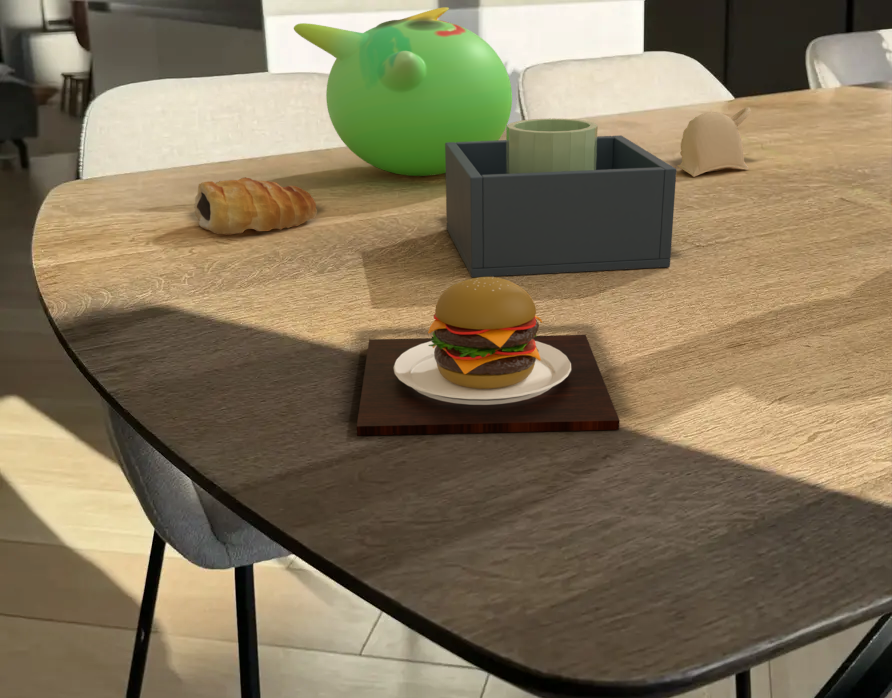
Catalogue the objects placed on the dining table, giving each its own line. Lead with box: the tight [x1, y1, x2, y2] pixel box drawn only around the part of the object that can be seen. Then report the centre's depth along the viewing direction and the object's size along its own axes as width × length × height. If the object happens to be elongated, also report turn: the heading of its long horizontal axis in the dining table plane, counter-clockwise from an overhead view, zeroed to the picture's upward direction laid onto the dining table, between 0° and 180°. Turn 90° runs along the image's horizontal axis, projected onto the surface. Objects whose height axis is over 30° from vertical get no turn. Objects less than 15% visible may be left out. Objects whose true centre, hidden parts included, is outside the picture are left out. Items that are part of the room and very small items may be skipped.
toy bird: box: [293, 6, 513, 177], centre depth 103 cm, size 18×17×15 cm
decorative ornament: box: [677, 107, 752, 178], centre depth 105 cm, size 4×8×5 cm, turn 116°
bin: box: [445, 135, 677, 278], centre depth 80 cm, size 14×14×7 cm
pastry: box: [194, 177, 318, 236], centre depth 88 cm, size 9×7×4 cm
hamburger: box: [356, 276, 620, 437], centre depth 55 cm, size 12×12×6 cm
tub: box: [505, 117, 599, 174], centre depth 79 cm, size 6×6×8 cm
